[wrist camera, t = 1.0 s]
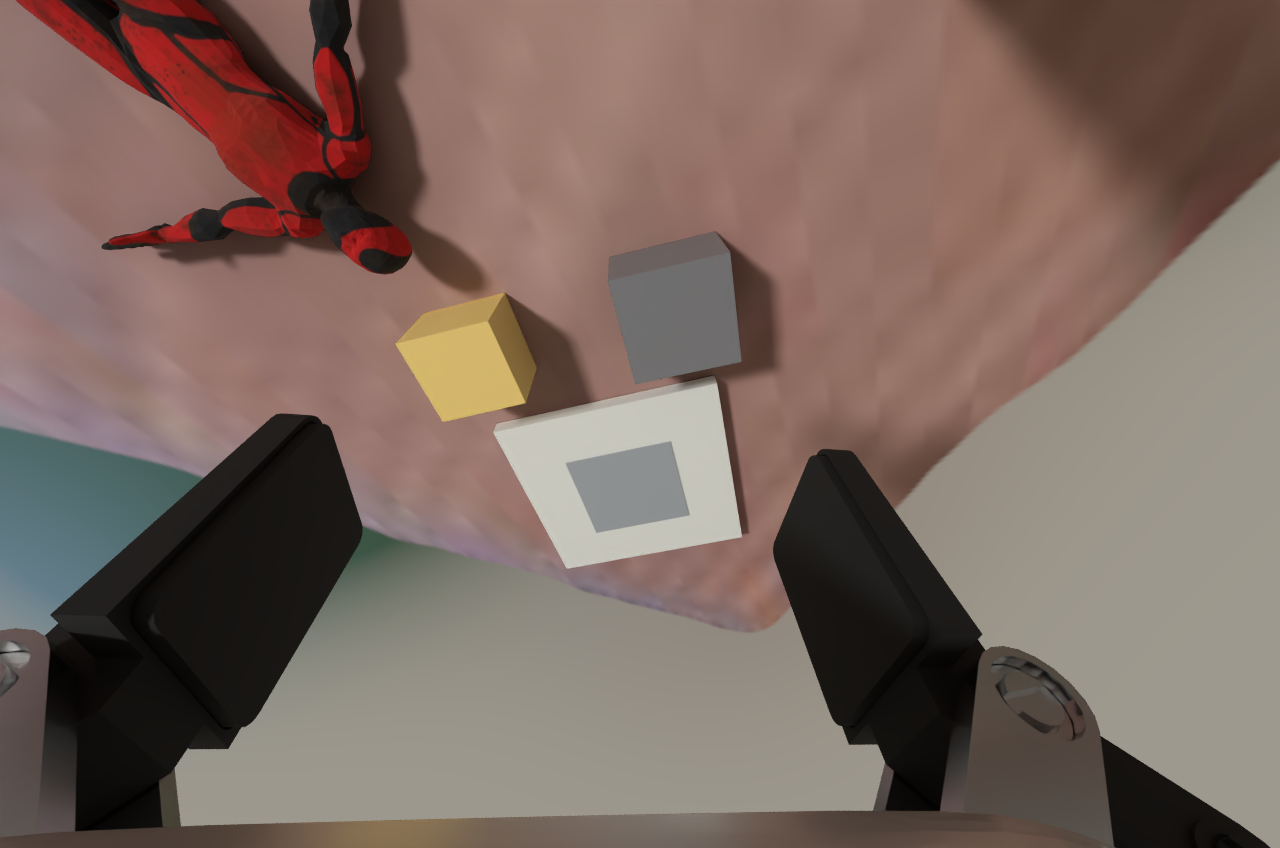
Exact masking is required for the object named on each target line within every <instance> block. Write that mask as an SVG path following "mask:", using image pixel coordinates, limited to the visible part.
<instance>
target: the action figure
mask: <svg viewBox="0 0 1280 848" xmlns="http://www.w3.org/2000/svg"><path fill="white" fill-rule="evenodd" d="M16 1H17V2H18V3H19V4H20V5H21V6H23V7H24V8H25V9H26V10H28V11H29V12H30V13H32V14H33V15H34V16H35V17H37V18H38V19H39V20H41V21H42V22H43V23H45V24H46V25H47V26H48V27H50V28H51V29H52V30H54V31H55V32H56V33H57V34H59V35H60V36H61V37H63V38H64V39H65V40H67V41H68V42H69V43H70V44H72V45H73V46H75V47H76V48H77V49H79V50H80V51H81V52H83V53H84V54H86V55H87V56H88V57H90V58H91V59H92V60H94V61H95V62H97V63H98V64H99V65H101V66H102V67H103V68H105V69H106V70H108V71H109V72H110V73H112V74H113V75H114V76H116V77H117V78H119V79H120V80H122V81H123V82H125V83H127V84H128V85H130V86H132V87H133V88H135V89H136V90H138V91H140V92H142V93H144V94H146V95H148V96H149V97H151V98H153V99H155V100H157V101H159V102H161V103H163V104H165V105H166V106H168V107H169V108H171V109H172V110H174V111H175V112H176V113H178V114H179V115H180V116H182V117H183V118H184V119H185V120H186V121H187V122H188V123H189V124H190V125H191V126H193V127H194V128H195V129H196V130H197V131H199V132H200V133H201V134H203V135H204V136H205V137H207V138H208V139H209V140H210V141H211V142H212V143H213V144H214V145H215V146H216V149H217V152H218V155H219V156H220V158H221V159H222V161H223V162H224V164H225V166H226V167H227V169H228V170H229V171H230V172H231V173H232V174H233V175H234V176H236V177H237V178H238V179H239V180H240V181H241V182H242V183H243V184H245V185H246V186H248V187H249V188H251V189H252V190H254V191H255V192H256V193H258V194H259V195H261V196H262V197H259V198H245V199H241V200H236V201H232V202H230V203H229V204H227V205H225V206H224V207H222V208H221V209H220V210H218V211H217V210H211V209H205V208H202V209H200V210H197V211H195V212H193V213H191V214H189V215H187V216H184V217H183V218H182V219H181V220H180V221H179V222H178V223H177V224H175V225H174V226H171V225H168V224H166V223H164V224H163V225H161V226H154V227H152V228H150V229H148V230H146V231H143V232H139V233H135V234H126V235H121V236H116V237H113V238H111V239H110V240H109V242H107V243H104V244H103V245H102V249H105V250H114V249H125V248H136V247H144V246H154V245H158V244H162V243H166V242H167V243H175V242H204V241H212V240H220V239H224V238H225V237H226V236H227V235H228V234H229V233H230V232H232V231H234V230H237V231H240V232H243V233H246V234H250V235H257V236H265V237H278V236H289V235H290V236H293V237H298V238H310V237H314V236H318V235H319V234H320V233H321V232H322V231H323V229H325V230H326V232H327V233H328V235H329V236H330V238H331V239H332V241H333V242H334V244H335V245H336V246H337V247H338V248H339V249H340V250H341V251H342V252H343V253H344V254H346V255H347V256H348V257H349V258H350V259H351V260H352V261H354V262H355V263H356V264H358V265H359V266H361V267H363V268H365V269H366V270H368V271H370V272H373V273H379V274H391V273H394V272H396V271H398V270H399V269H401V268H403V267H404V266H405V265H406V263H407V262H408V260H409V259H410V257H411V255H412V247H411V245H410V243H409V240H408V238H407V236H406V235H405V234H404V233H403V232H402V231H401V230H400V229H398V228H397V227H396V226H394V225H393V224H392V223H390V222H389V221H388V220H386V219H384V218H383V217H381V216H379V215H377V214H375V213H373V212H370V211H367V210H365V209H364V208H362V207H361V206H360V205H359V204H358V203H357V202H356V200H355V199H354V197H353V195H352V191H351V189H352V185H353V182H354V179H355V177H357V176H358V175H359V174H360V173H361V172H363V171H364V170H366V169H367V168H368V164H369V162H370V156H371V148H372V146H371V143H370V139H369V136H368V135H367V133H366V131H365V129H364V124H363V115H362V104H361V100H360V96H359V92H358V88H357V84H356V80H355V76H354V72H353V69H352V66H351V62H350V59H349V55H348V54H347V53H346V52H345V51H344V45H345V43H346V40H347V37H348V35H349V32H350V30H351V27H352V24H351V16H350V9H349V2H348V0H311V1H310V8H309V11H310V16H311V21H312V25H313V30H314V35H315V39H316V43H315V48H314V56H313V69H314V77H315V86H316V90H317V92H318V95H319V97H320V100H321V102H322V104H323V107H324V109H325V112H326V114H327V119H328V121H327V120H325V119H322V118H320V117H317V116H316V115H314V114H313V113H312V112H310V111H309V110H308V109H306V108H305V107H304V106H302V105H301V104H299V103H298V102H296V101H295V100H294V99H293V98H291V97H290V96H288V95H287V94H286V93H284V92H282V91H280V90H278V89H276V88H275V87H273V86H271V85H269V84H268V83H266V82H265V81H264V80H262V79H261V78H260V77H258V76H257V75H256V74H255V73H254V72H253V71H252V70H251V69H250V68H249V67H248V65H247V64H246V62H245V60H244V57H243V54H242V52H241V50H240V48H239V47H238V46H237V44H236V43H235V41H234V40H233V38H232V37H231V36H230V34H229V33H228V32H227V31H226V29H225V28H224V27H223V25H222V24H221V23H220V22H219V20H218V19H217V18H216V17H215V15H214V14H212V13H211V12H210V11H209V10H208V9H207V8H206V7H205V6H204V5H203V4H202V3H201V2H199V1H198V0H113V1H114V2H116V3H117V5H118V7H119V8H117V7H116V6H114V5H113V4H112V3H110V2H109V1H107V0H16Z"/></svg>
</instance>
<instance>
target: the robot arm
mask: <svg viewBox="0 0 1280 848" xmlns="http://www.w3.org/2000/svg"><path fill="white" fill-rule="evenodd" d="M361 537H362V523H361V520H360V517H359V514H358V511H357V508H356V504H355V501H354V498H353V495H352V492H351V489H350V486H349V483H348V480H347V477H346V474H345V470H344V467H343V464H342V461H341V458H340V455H339V452H338V449H337V446H336V443H335V440H334V437H333V433H332V431H331V429H330V427H329V426H328V425H326V424H322V422H321V420H320V419H319V418H318V417H316V416H312V415H297V414H276V415H275V416H273V417H272V418H271V419H269V420H268V421H267V422H266V423H265V424H264V425H263V426H262V427H260V428H259V429H258V430H257V431H256V432H255V433H254V434H253V435H251V436H250V437H249V438H248V439H247V440H246V441H245V442H244V443H243V444H241V445H240V446H239V447H238V448H237V449H236V450H235V451H234V452H232V453H231V454H230V455H229V456H228V457H227V458H226V459H225V460H223V461H222V462H221V463H220V464H219V465H218V466H217V467H216V468H214V469H213V470H212V471H211V472H210V473H209V474H208V475H207V476H205V477H204V478H203V479H202V480H201V481H200V482H199V483H198V484H196V485H195V486H194V487H193V488H192V489H191V490H190V491H189V492H188V493H186V494H185V495H184V496H183V497H182V498H181V499H180V500H179V501H178V502H176V503H175V504H174V505H173V506H172V507H171V508H170V509H168V510H167V511H166V512H165V513H164V514H163V515H162V516H161V517H160V518H158V519H157V520H156V521H155V522H154V523H153V524H152V525H151V526H149V527H148V528H147V529H146V530H145V531H144V532H143V533H142V534H140V535H139V536H138V537H137V538H136V539H135V540H134V541H132V542H131V543H130V544H129V545H128V546H127V547H126V548H125V549H123V550H122V551H121V552H120V553H119V554H118V555H117V556H116V557H115V558H113V559H112V560H111V561H110V562H109V563H108V564H107V565H106V566H104V568H102V569H101V570H100V571H99V572H98V573H97V574H96V575H94V576H93V577H92V578H91V579H90V580H89V581H88V582H86V583H85V584H84V585H83V586H82V587H81V588H80V589H79V590H78V591H76V592H75V593H74V594H73V595H72V596H71V597H70V598H68V599H67V600H66V601H65V602H64V603H63V604H62V605H61V606H60V607H58V608H57V609H56V610H55V611H54V612H53V613H52V614H51V616H52V617H53V618H54V619H55V620H56V621H57V622H58V624H57V625H56V626H55V627H54V628H53V629H52V630H51V631H50V632H49V633H47V634H46V635H45V636H44V635H42V634H40V633H39V632H37V631H35V630H28V629H17V628H15V629H8V630H1V631H0V848H1270V847H1269V846H1268V845H1267V844H1266V843H1264V842H1263V841H1262V840H1260V839H1259V838H1258V837H1256V836H1255V835H1253V834H1252V833H1251V832H1249V831H1248V830H1246V829H1245V828H1244V827H1242V826H1241V825H1240V824H1238V823H1236V822H1235V821H1233V820H1232V819H1230V818H1229V817H1227V816H1225V815H1224V814H1222V813H1220V812H1219V811H1218V810H1216V809H1214V808H1213V807H1211V806H1210V805H1208V804H1207V803H1205V802H1203V801H1202V800H1200V799H1199V798H1197V797H1196V796H1194V795H1192V794H1191V793H1189V792H1188V791H1186V790H1185V789H1183V788H1181V787H1180V786H1178V785H1177V784H1175V783H1174V782H1172V781H1170V780H1169V779H1167V778H1165V777H1164V776H1162V775H1161V774H1159V773H1158V772H1156V771H1155V770H1153V769H1152V768H1150V767H1148V766H1147V765H1145V764H1144V763H1142V762H1141V761H1139V760H1137V759H1136V758H1134V757H1133V756H1131V755H1130V754H1128V753H1126V752H1125V751H1123V750H1122V749H1120V748H1119V747H1117V746H1115V745H1114V744H1112V743H1111V742H1109V741H1108V740H1106V739H1104V738H1103V737H1101V736H1100V731H1099V728H1098V724H1097V721H1096V718H1095V716H1094V714H1093V712H1092V711H1091V709H1090V708H1089V706H1088V704H1087V702H1086V701H1085V699H1084V698H1083V697H1082V696H1081V695H1080V694H1079V693H1078V691H1077V690H1076V689H1075V688H1074V687H1073V685H1072V684H1071V683H1070V682H1069V681H1067V680H1066V679H1065V678H1064V677H1063V676H1061V675H1060V674H1059V673H1058V672H1057V671H1056V670H1055V669H1053V668H1052V667H1050V666H1049V665H1047V664H1046V663H1044V662H1042V661H1041V660H1039V659H1038V658H1036V657H1034V656H1032V655H1030V654H1028V653H1025V652H1023V651H1021V650H1019V649H1014V648H1010V647H1005V646H999V647H991V648H989V649H987V650H986V651H985V649H984V648H983V646H982V645H981V644H980V642H979V641H978V638H979V637H980V636H981V635H982V633H981V632H980V630H979V629H978V627H977V626H976V625H975V623H974V622H973V620H972V619H971V618H970V616H969V615H968V613H967V612H966V610H965V609H964V608H963V606H962V605H961V603H960V602H959V601H958V599H957V598H956V596H955V595H954V594H953V592H952V591H951V589H950V588H949V587H948V585H947V584H946V582H945V581H944V579H943V578H942V577H941V575H940V574H939V572H938V571H937V570H936V568H935V567H934V565H933V564H932V562H931V561H930V560H929V558H928V557H927V555H926V554H925V553H924V551H923V550H922V548H921V547H920V546H919V544H918V543H917V541H916V540H915V539H914V537H913V536H912V534H911V533H910V531H909V530H908V529H907V527H906V526H905V524H904V523H903V522H902V520H901V519H900V517H899V516H898V515H897V513H896V512H895V510H894V509H893V507H892V506H891V505H890V503H889V502H888V500H887V499H886V498H885V496H884V495H883V493H882V492H881V490H880V489H879V488H878V486H877V485H876V483H875V482H874V481H873V479H872V478H871V476H870V475H869V474H868V472H867V471H866V469H865V468H864V467H863V465H862V464H861V462H860V461H859V459H858V458H857V457H856V455H855V454H854V453H853V452H851V451H848V450H832V449H822V450H820V451H819V452H818V453H817V455H813V456H811V457H810V458H809V460H808V462H807V464H806V467H805V469H804V472H803V474H802V476H801V479H800V481H799V484H798V486H797V489H796V491H795V493H794V496H793V498H792V501H791V503H790V505H789V508H788V510H787V513H786V515H785V518H784V520H783V522H782V525H781V527H780V530H779V532H778V534H777V537H776V539H775V542H774V546H773V554H774V559H775V562H776V565H777V568H778V571H779V573H780V576H781V579H782V582H783V585H784V587H785V590H786V593H787V596H788V598H789V601H790V604H791V607H792V609H793V612H794V615H795V617H796V620H797V623H798V626H799V629H800V631H801V634H802V637H803V640H804V642H805V645H806V648H807V651H808V654H809V656H810V659H811V662H812V665H813V668H814V670H815V673H816V676H817V679H818V681H819V684H820V687H821V690H822V692H823V695H824V698H825V700H826V703H827V706H828V709H829V712H830V714H831V716H832V719H833V720H834V722H835V723H836V724H837V725H839V726H842V727H843V730H844V733H845V735H846V738H847V741H848V743H849V745H857V744H858V745H859V744H861V745H862V744H864V745H865V744H878V746H879V748H880V751H881V753H882V756H883V758H884V760H885V765H884V769H883V773H882V777H881V781H880V785H879V789H878V793H877V797H876V801H875V805H874V810H873V811H801V812H800V811H799V812H744V813H691V814H690V813H689V814H688V813H687V814H640V815H639V814H638V815H592V816H552V817H550V816H549V817H548V816H547V817H505V818H463V819H421V820H386V821H385V820H384V821H350V822H349V821H347V822H312V823H276V824H239V825H205V826H184V827H183V826H182V827H181V822H180V813H179V804H178V795H177V786H176V777H175V766H176V765H177V763H178V762H179V760H180V759H181V757H182V756H183V754H184V753H185V751H186V750H187V748H189V749H228V748H229V747H230V745H231V743H232V742H233V740H234V738H235V737H236V735H237V734H238V732H239V730H240V729H241V727H246V726H247V725H249V724H250V723H251V722H252V721H253V720H254V719H255V718H256V717H257V715H258V714H259V712H260V711H261V709H262V707H263V705H264V704H265V702H266V701H267V699H268V697H269V695H270V694H271V692H272V690H273V689H274V687H275V685H276V684H277V682H278V680H279V679H280V677H281V675H282V673H283V672H284V670H285V668H286V667H287V665H288V663H289V661H290V660H291V658H292V656H293V655H294V653H295V651H296V650H297V648H298V646H299V645H300V643H301V641H302V639H303V638H304V636H305V634H306V633H307V631H308V629H309V628H310V626H311V624H312V623H313V621H314V619H315V618H316V616H317V614H318V612H319V611H320V609H321V607H322V606H323V604H324V602H325V601H326V599H327V597H328V596H329V594H330V592H331V590H332V589H333V587H334V585H335V584H336V582H337V580H338V579H339V577H340V575H341V574H342V572H343V570H344V568H345V567H346V565H347V563H348V562H349V560H350V558H351V557H352V555H353V553H354V552H355V550H356V548H357V546H358V545H359V543H360V540H361Z"/></svg>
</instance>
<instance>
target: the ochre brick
mask: <svg viewBox="0 0 1280 848" xmlns="http://www.w3.org/2000/svg"><path fill="white" fill-rule="evenodd" d="M396 346H397V347H398V349H399V351H400V352H401V354H402V356H403V357H404V359H405V360H406V362H407V364H408V365H409V367H410V369H411V370H412V372H413V374H414V375H415V377H416V378H417V380H418V382H419V383H420V385H421V387H422V388H423V390H424V392H425V393H426V395H427V396H428V398H429V400H430V401H431V403H432V405H433V406H434V408H435V410H436V411H437V413H438V414H439V416H440V418H441V419H442V421H443V422H445V421H449V420H453V419H458V418H462V417H467V416H471V415H475V414H480V413H484V412H489V411H493V410H498V409H502V408H506V407H511V406H515V405H520V404H524V403H526V401H527V398H528V395H529V391H530V388H531V385H532V382H533V379H534V376H535V372H536V369H537V367H536V365H535V362H534V360H533V358H532V355H531V353H530V351H529V348H528V346H527V344H526V341H525V339H524V337H523V334H522V332H521V329H520V327H519V325H518V322H517V320H516V318H515V315H514V313H513V311H512V308H511V306H510V304H509V301H508V299H507V296H506V294H505V293H501V294H498V295H494V296H490V297H486V298H482V299H478V300H474V301H470V302H466V303H462V304H458V305H454V306H451V307H447V308H443V309H439V310H435V311H431V312H427V313H424V314H423V315H422V316H421V317H420V318H419V319H418V320H417V321H416V322H415V323H414V325H413V326H412V327H411V328H410V329H409V330H408V331H407V332H406V333H405V334H404V335H403V336H402V338H401V339H400V340H399V341H398V342H397V343H396Z"/></svg>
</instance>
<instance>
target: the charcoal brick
mask: <svg viewBox="0 0 1280 848" xmlns="http://www.w3.org/2000/svg"><path fill="white" fill-rule="evenodd" d="M608 284H609V288H610V292H611V295H612V299H613V303H614V306H615V310H616V314H617V318H618V321H619V325H620V329H621V333H622V336H623V340H624V344H625V348H626V351H627V355H628V359H629V362H630V366H631V370H632V374H633V377H634V381H635V384H639V383H644V382H648V381H653V380H658V379H663V378H667V377H672V376H677V375H682V374H686V373H691V372H696V371H701V370H705V369H710V368H715V367H720V366H724V365H729V364H734V363H738V362H742V361H741V352H740V342H739V332H738V323H737V313H736V304H735V294H734V284H733V275H732V265H731V255H730V251H729V250H728V248H727V247H726V245H725V244H724V243H723V241H722V240H721V238H720V237H719V236H718V234H717V233H716V231H715V232H711V233H707V234H702V235H698V236H694V237H690V238H686V239H682V240H678V241H673V242H669V243H665V244H661V245H657V246H653V247H649V248H644V249H640V250H636V251H632V252H628V253H624V254H620V255H615V256H611V257H610V258H609V271H608Z"/></svg>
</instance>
